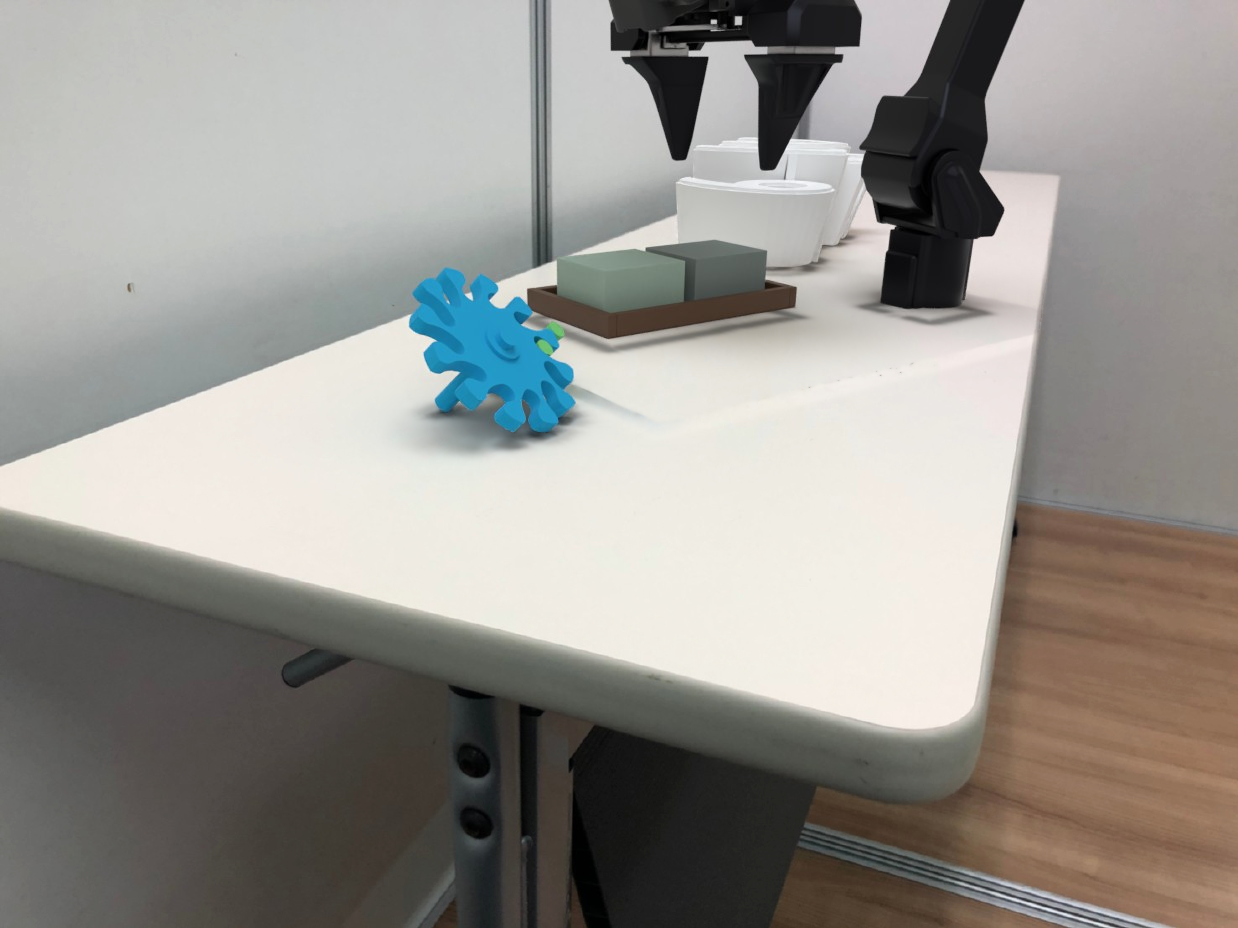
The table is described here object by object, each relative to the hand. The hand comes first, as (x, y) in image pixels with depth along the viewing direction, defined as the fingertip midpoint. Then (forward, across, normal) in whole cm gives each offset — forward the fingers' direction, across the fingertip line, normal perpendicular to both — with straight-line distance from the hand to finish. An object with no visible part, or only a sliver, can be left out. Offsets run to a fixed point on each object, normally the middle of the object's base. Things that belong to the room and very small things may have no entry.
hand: (721, 165), depth 67 cm
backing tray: (+11, -4, -2) cm, 12 cm away
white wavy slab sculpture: (+12, -22, +27) cm, 37 cm away
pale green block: (+10, -4, -6) cm, 12 cm away
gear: (+11, +9, -23) cm, 27 cm away
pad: (+10, -4, +2) cm, 11 cm away
